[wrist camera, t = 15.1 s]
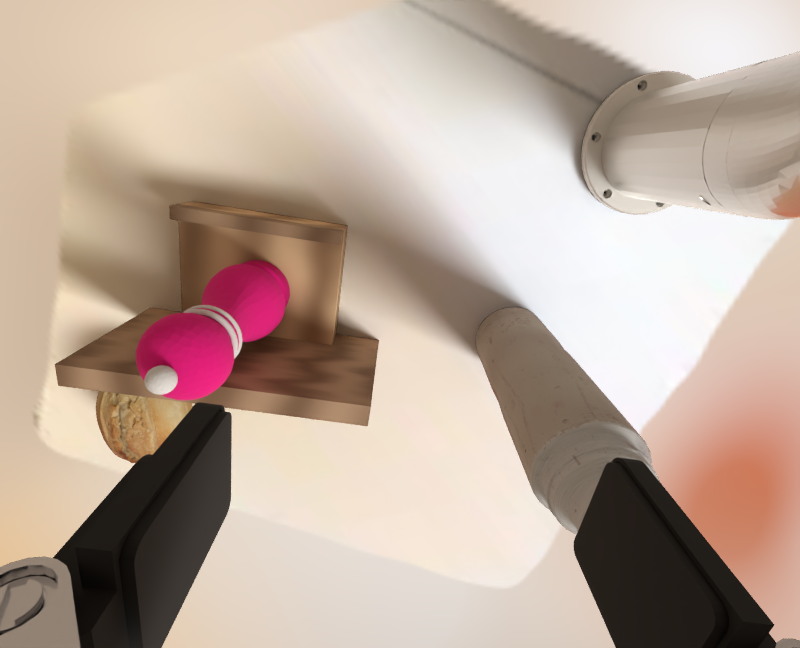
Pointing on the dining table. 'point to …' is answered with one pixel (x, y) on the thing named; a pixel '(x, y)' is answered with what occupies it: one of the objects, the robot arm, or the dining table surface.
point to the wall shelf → (271, 355)
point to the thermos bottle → (553, 413)
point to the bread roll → (137, 422)
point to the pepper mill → (212, 331)
